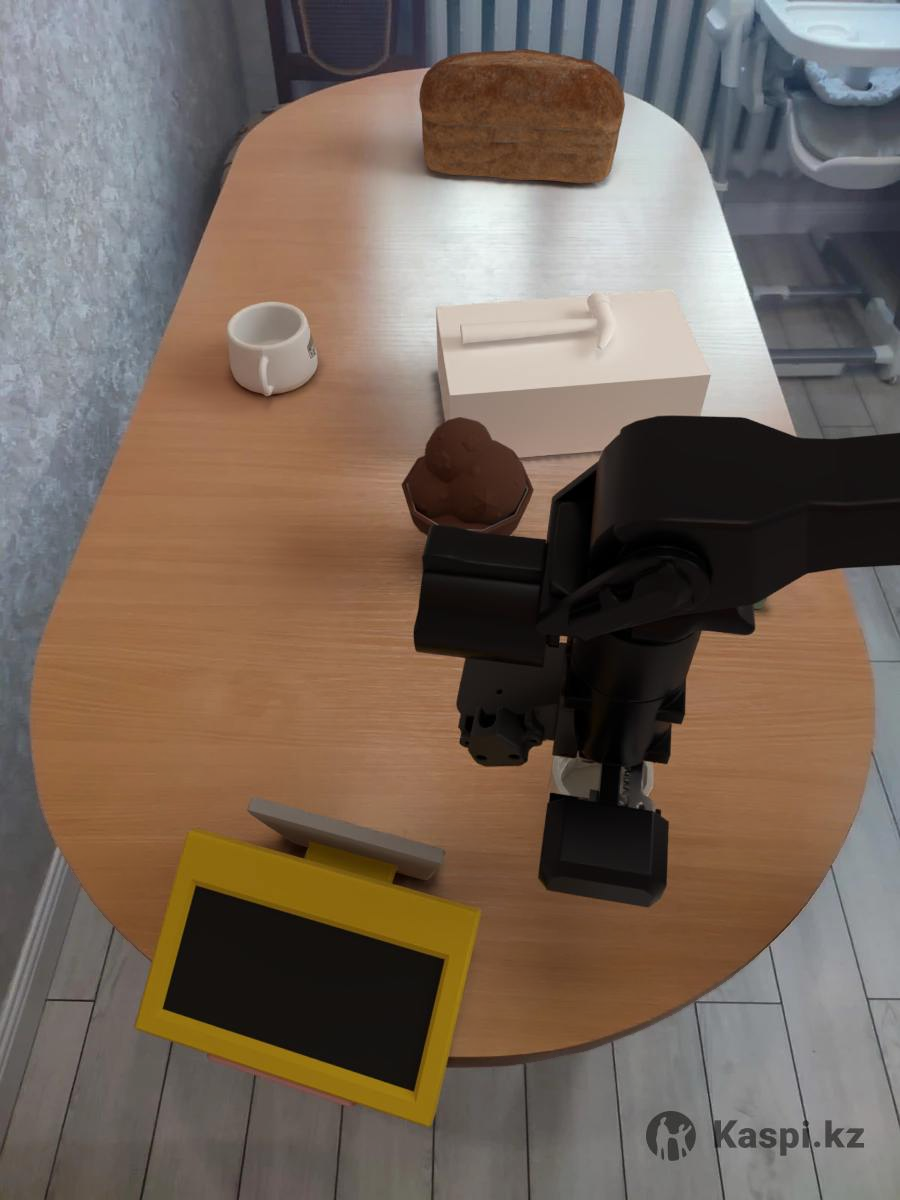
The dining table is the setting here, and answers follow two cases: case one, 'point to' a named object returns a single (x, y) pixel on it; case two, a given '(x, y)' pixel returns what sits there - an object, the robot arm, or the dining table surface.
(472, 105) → the bread
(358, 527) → the dining table surface
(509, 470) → the ice cream bowl
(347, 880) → the yellow framed monitor
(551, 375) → the hammer topped box
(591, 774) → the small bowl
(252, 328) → the mug
